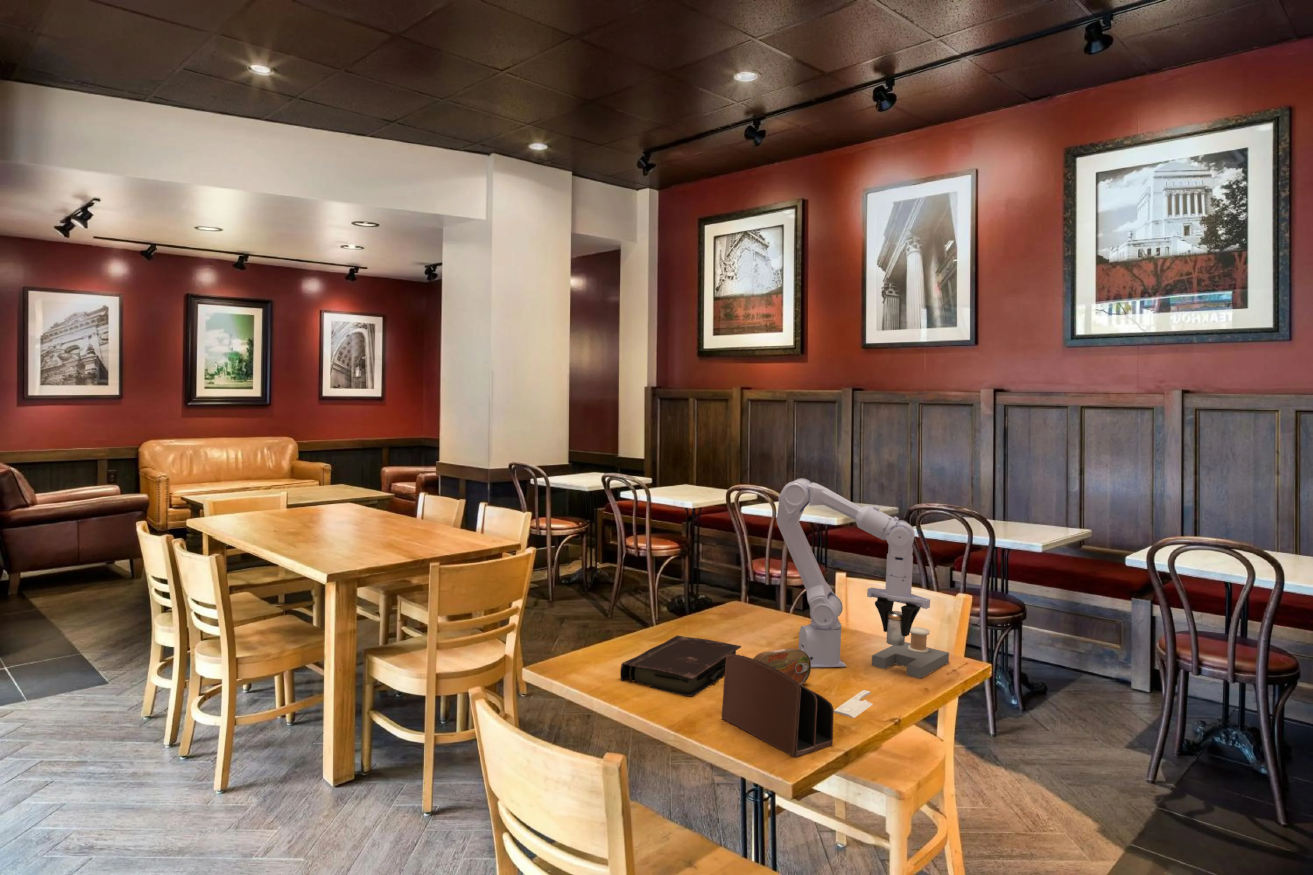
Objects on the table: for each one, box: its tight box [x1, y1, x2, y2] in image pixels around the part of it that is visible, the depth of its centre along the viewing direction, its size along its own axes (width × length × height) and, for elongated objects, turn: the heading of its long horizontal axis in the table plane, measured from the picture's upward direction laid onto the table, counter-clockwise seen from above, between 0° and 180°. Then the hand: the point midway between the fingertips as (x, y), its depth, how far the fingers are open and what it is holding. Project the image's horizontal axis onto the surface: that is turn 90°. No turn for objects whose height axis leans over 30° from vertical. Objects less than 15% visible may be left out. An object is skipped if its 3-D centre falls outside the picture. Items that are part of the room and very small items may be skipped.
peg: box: [885, 610, 906, 646], centre depth 186 cm, size 4×4×7 cm
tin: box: [752, 647, 812, 686], centre depth 175 cm, size 15×3×8 cm, turn 117°
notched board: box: [871, 626, 950, 679], centre depth 193 cm, size 16×12×8 cm
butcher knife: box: [834, 689, 874, 719], centre depth 167 cm, size 5×15×1 cm, turn 143°
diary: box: [619, 635, 742, 697], centre depth 183 cm, size 19×25×5 cm
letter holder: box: [721, 653, 835, 758], centre depth 152 cm, size 10×20×14 cm, turn 36°
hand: (896, 633), depth 187 cm, fingers closed on peg, 4 cm apart
